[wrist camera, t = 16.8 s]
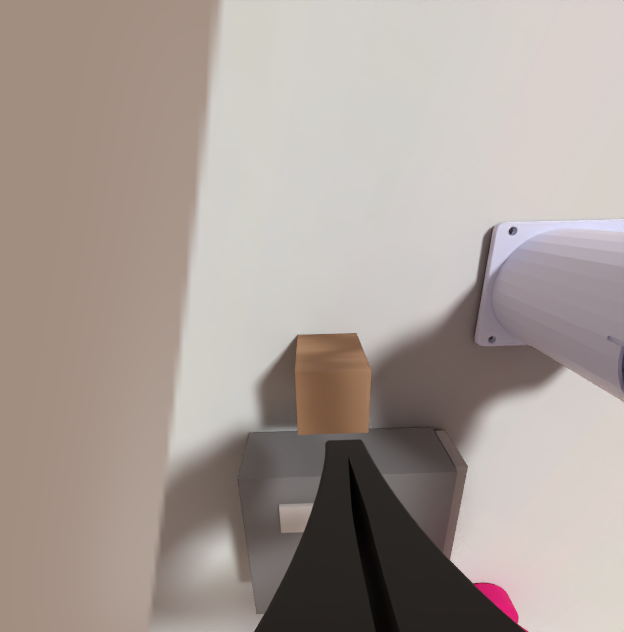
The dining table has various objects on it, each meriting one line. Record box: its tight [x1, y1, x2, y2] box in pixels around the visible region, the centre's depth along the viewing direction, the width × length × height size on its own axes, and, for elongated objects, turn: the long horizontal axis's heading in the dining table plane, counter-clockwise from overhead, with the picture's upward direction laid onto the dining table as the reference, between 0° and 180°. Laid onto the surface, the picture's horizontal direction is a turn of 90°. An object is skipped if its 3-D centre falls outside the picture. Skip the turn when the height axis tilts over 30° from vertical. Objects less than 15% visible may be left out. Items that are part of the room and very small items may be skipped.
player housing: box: [238, 427, 457, 614], centre depth 23 cm, size 14×14×4 cm
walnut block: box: [295, 333, 371, 435], centre depth 19 cm, size 4×4×5 cm
